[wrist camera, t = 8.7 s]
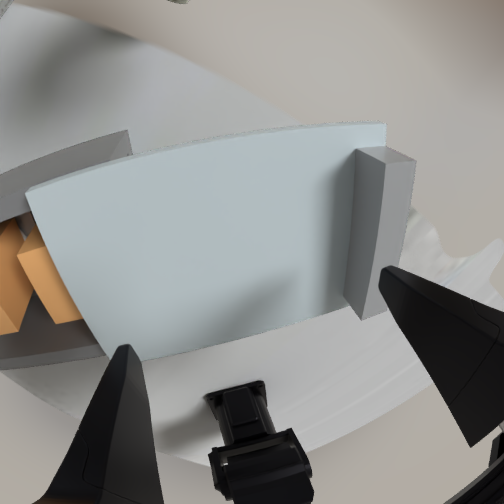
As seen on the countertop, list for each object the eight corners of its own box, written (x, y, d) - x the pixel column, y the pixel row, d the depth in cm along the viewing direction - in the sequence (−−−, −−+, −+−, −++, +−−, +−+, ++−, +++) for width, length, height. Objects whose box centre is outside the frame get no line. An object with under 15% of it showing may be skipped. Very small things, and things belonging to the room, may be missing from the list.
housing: (164, 271, 21) (171, 341, 16) (5, 309, 18) (-17, 371, 13) (127, 129, 15) (109, 159, 10) (-50, 200, 13) (-99, 250, 7)
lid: (359, 294, 17) (382, 323, 15) (114, 357, 15) (114, 397, 13) (378, 120, 12) (418, 135, 10) (30, 187, 9) (3, 217, 7)
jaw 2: (133, 248, 18) (130, 308, 14) (73, 264, 18) (55, 324, 13) (113, 184, 16) (97, 231, 11) (48, 204, 15) (16, 255, 11)
